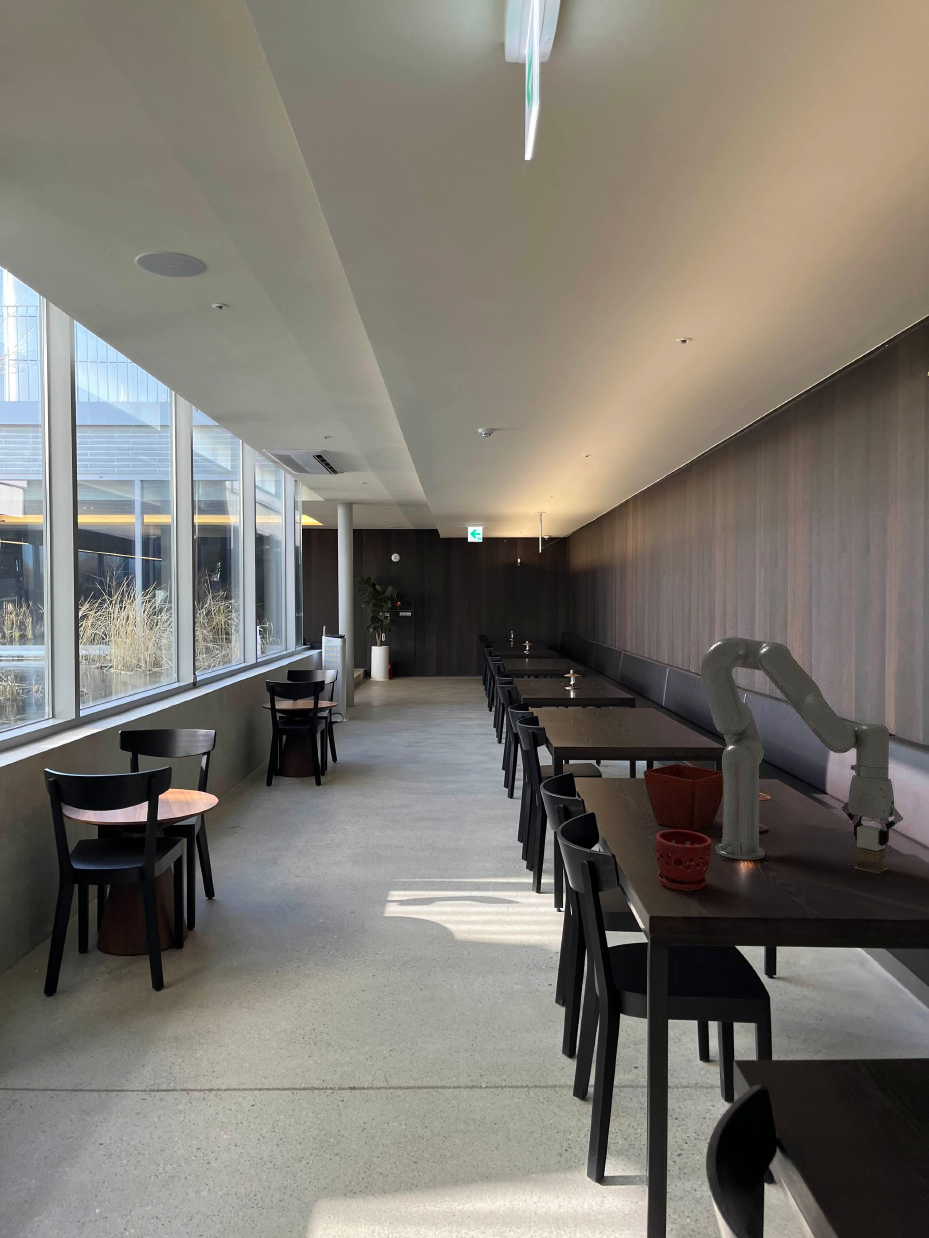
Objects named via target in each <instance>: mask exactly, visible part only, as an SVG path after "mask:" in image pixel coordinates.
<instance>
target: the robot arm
mask: <svg viewBox="0 0 929 1238" xmlns="http://www.w3.org/2000/svg"><path fill="white" fill-rule="evenodd" d="M735 668H741V669H748V670H757V671H762V673H763V674H765V676H766V677H767V678H768V679H769V681H771V683H772V684H773V685H774V686H775V688H776V689H777V690H778V691H779V692H780V693H781V694H782V695H783V697H784V698H785V699H786V700H787V701H788V703H789V704H790V705H791V707H792V709H794V710H795V712H796V713H797V714H798V716H800V718H801V719H802V721H803V722H804V723H805V724H806V726H807V727H808V728H809V729H810V730H811V732H812V733H813V734H814V735H815V737H817V738H818V740H819V741H820V742H821V743H822V744H823V745H824V747H825V748H826V749H827V750H829V751H830V752H833V753H836V754H845V753H848V752H850V751H851V750H852V749H855V751H856V753H855V764H851V765H850V770H851V771H854V774H853V775H852V776H851V779H850V780H851V781H850V784H849V785H850V786H849V791H848V798H847V799H848V801H847V802H846V803H845V804H844V805H843V806H841V811H842V812H843V813H844V814H845V815H846V817H848V819H849V820H850V821H851V823H852V825H853V836H854V839H855V841H857V827H859V826H862V825H864V824H863V823H862V821H863V818H864V817H865V818H871V819H876V820H878V821H879V824H880V827H882V828H881V830H880V833H879V845H880V846H884V845H885V846H887V844H888V843H889V841H890V829H891V828H893V827H894V826H896V825H897V824H899V823H901V822H902V821H903V820H904V817H903V816H902V815H901V813H900V812H899V811H898V810H897V808H896V807H895V795H894V793H895V792H894V787H893V782H892V779H891V778H889V770H890V769H889V767H890V766H889V764H890V763H889V762H890V761H889V759H890V757H889V755H890V754H889V752H890V749H889V747H890V731H889V728H888V727H887V726H886V725H882V724H877V723H856V722H851V721H845V720H842V718H841V717H840V716H839V715H838V714H837V713H836V712H835V711H834V710H833V708H832V707H831V706H830V704H829V703H828V702H827V700H826V699H825V697H824V696H823V693H822V691H821V689H820V687H819V686H818V684H817V683H816V682H815V680H814V679H813V678H812V677H811V676H810V675H809V674H808V672H806V671H805V670H804V668H803V667H802V666H801V665H800V664H799V662H798V661H797V660H796V659H795V658H794V656H792V652H791V650H790V649H789V648H788V646H786V645H785V644H783V643H781V642H774V641H773V642H772V641H764V640H758V639H749V638H742V637H735V636H734V637H733V636H732V637H724V638H721V639H719V640H718V641H716V642H714V643H713V644H712V645H711V646H710V647H709V648H708V649H707V651H706V652H705V653H704V655H703V657H702V660H701V663H700V676H701V683H702V685H703V687H704V691H705V695H706V696H705V697H706V699H707V703H708V706H709V709H710V712H711V717H712V721H713V725H714V727H715V728H716V730H717V731H718V732H719V733H721V734H722V735H723V737H724V740H725V744H726V747H725V748H724V750H723V752H722V758H721V770H722V771H721V772H722V773H723V796H722V837H721V843H718V844H716V845H715V847H714V849H715V851H716V852H717V854H719V855H720V856H723V857H725V858H729V859H734V860H740V861H741V860H742V861H755V860H760V859H761V860H762V859H763V858H765V856H766V855H765V850H764V849H762V848H761V847H760V846H759V844H760V839H759V838H760V775H759V774H760V764H761V762H763V758H764V754H765V753H764V752H765V751H764V747H763V744H762V741H761V737H760V733H759V731H758V727H757V723H756V721H755V717H754V714H753V713H752V710H751V709H750V706H748V704H747V703H745V702H744V701H742V700H741V697H740V695H739V691H738V687H737V684H736V682H735V679H734V675H733V670H734V669H735ZM889 818H893V819H892V820H890V819H889Z"/></svg>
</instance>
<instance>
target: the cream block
mask: <svg viewBox="0 0 929 1238" xmlns="http://www.w3.org/2000/svg"><path fill="white" fill-rule="evenodd" d="M881 828H882V827H881V826H878V825H877V826H876V825H871V824H867V823H865V824H863V825H862V826H859V827H857V840H856V848H859V847H861V848H866V849H870V850H875V851H878V850H880V849H886V845H884V846H880V845H879V833H880V830H881Z"/></svg>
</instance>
